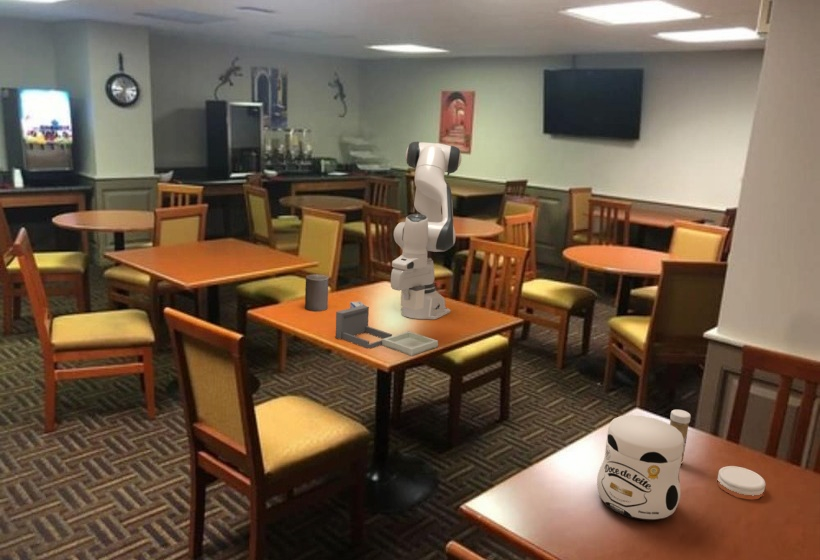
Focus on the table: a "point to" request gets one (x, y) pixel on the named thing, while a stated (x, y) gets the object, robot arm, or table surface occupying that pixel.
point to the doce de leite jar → (641, 468)
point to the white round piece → (741, 480)
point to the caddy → (414, 298)
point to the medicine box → (355, 304)
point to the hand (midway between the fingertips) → (412, 298)
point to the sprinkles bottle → (680, 424)
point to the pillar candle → (316, 292)
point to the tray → (410, 343)
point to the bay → (357, 326)
